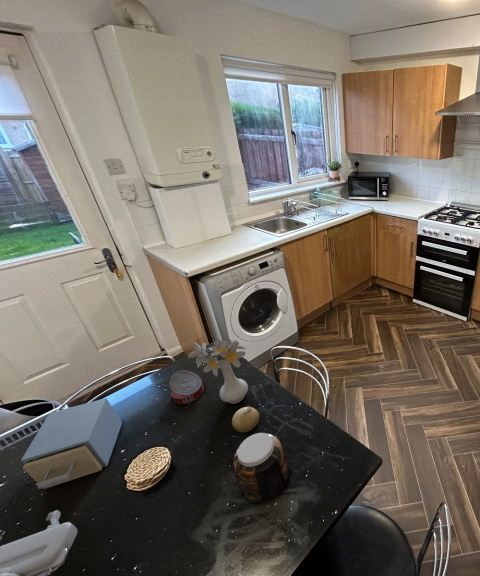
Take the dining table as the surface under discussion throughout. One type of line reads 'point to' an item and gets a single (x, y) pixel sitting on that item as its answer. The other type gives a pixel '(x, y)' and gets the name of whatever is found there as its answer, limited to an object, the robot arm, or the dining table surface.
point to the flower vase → (223, 367)
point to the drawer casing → (78, 431)
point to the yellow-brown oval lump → (245, 419)
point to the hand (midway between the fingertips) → (28, 522)
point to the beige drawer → (62, 466)
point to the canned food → (185, 386)
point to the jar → (261, 467)
